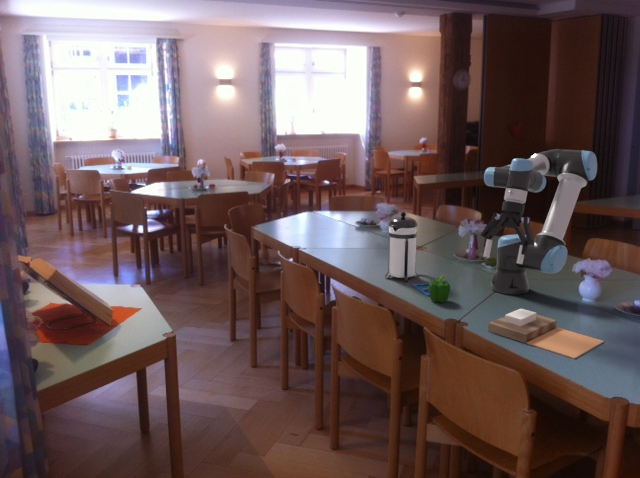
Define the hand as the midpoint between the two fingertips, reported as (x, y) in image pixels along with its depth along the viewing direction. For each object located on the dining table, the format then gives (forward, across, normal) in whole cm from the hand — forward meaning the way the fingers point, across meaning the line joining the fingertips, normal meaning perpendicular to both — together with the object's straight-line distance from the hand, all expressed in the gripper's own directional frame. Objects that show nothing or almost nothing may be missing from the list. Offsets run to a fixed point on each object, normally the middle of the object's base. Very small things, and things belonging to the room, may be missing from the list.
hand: (502, 260), depth 213 cm
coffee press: (+16, -58, +17) cm, 63 cm away
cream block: (+19, +11, +1) cm, 22 cm away
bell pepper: (+21, -26, +4) cm, 34 cm away
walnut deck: (+22, +12, +1) cm, 25 cm away
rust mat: (+22, +28, +2) cm, 36 cm away
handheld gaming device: (+19, -38, +11) cm, 44 cm away
